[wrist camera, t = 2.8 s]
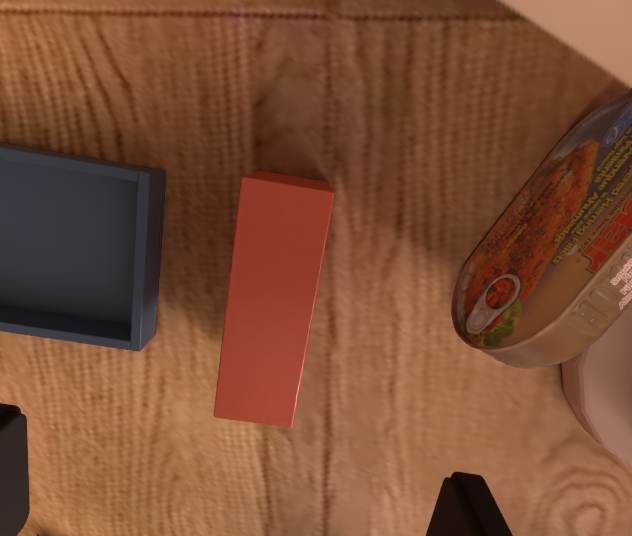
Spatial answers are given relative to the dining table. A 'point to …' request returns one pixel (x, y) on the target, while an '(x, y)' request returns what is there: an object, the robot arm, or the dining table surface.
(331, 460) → the dining table surface
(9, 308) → the tray
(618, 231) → the tin
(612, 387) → the hourglass
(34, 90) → the dining table surface
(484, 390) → the dining table surface
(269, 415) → the bar
